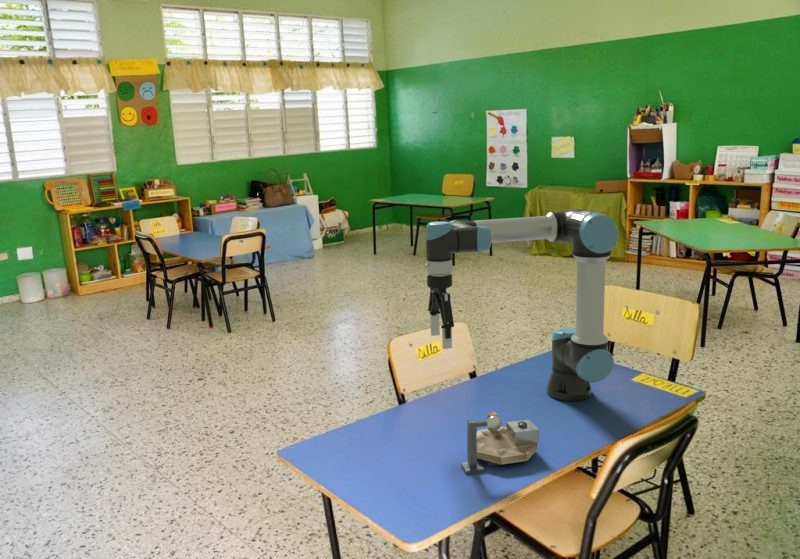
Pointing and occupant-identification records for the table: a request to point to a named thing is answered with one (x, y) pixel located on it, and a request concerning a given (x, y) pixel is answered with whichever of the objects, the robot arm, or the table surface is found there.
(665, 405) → the table surface
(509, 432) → the cover
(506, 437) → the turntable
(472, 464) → the dial post
